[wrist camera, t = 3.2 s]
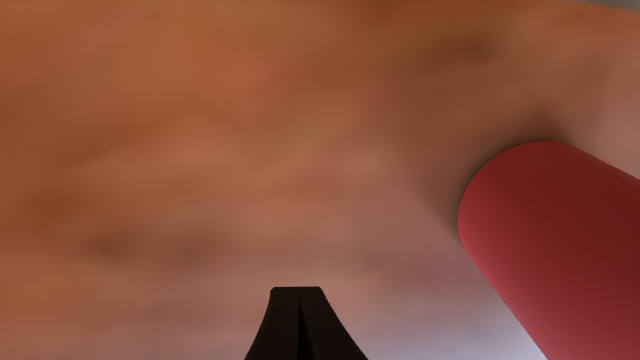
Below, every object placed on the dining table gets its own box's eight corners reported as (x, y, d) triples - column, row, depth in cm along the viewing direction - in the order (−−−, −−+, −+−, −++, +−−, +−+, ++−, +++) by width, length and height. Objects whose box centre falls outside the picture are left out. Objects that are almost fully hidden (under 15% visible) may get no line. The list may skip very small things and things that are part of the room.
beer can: (567, 107, 19) (991, 270, 8) (606, 223, 21) (968, 470, 10) (428, 185, 19) (634, 434, 8) (482, 288, 22) (694, 583, 11)
